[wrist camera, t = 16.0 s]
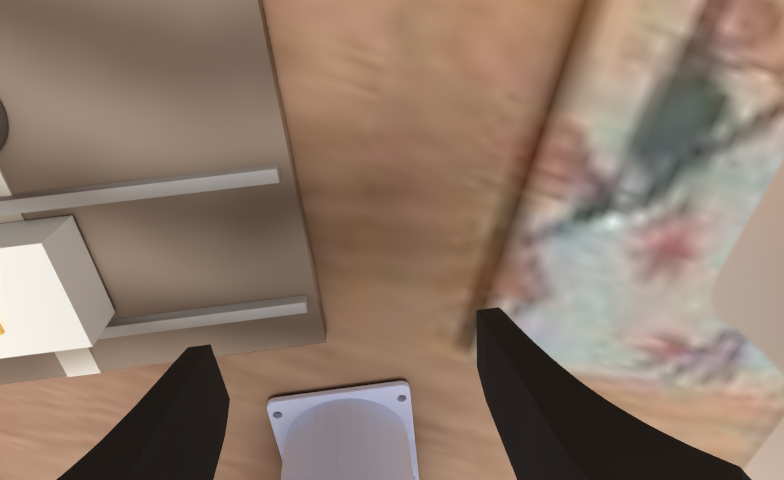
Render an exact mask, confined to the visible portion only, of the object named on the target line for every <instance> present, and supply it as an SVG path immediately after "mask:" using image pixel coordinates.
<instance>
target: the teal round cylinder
mask: <svg viewBox="0 0 784 480" xmlns="http://www.w3.org/2000/svg"><path fill="white" fill-rule="evenodd" d="M7 134H8V123H7V118H6V114H5V111H4V109H3V106H2V104H1V102H0V150H1V149H2V148H3V146H4V144H5V142H6V139H7Z"/></svg>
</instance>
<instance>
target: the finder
mask: <svg viewBox="0 0 784 480" xmlns="http://www.w3.org/2000/svg"><path fill="white" fill-rule="evenodd" d="M114 314H115V311H114V308H113V306H112V304H111V302H110V299H109V297H108V295H107V293H106V291H105V288H104V286H103V284H102V282H101V279H100V277H99V275H98V273H97V270H96V268H95V266H94V264H93V261H92V259H91V257H90V255H89V252H88V250H87V248H86V246H85V243H84V241H83V239H82V237H81V234H80V232H79V230H78V228H77V226H76V223H75V221H74V219H73V217H72V215H70V216H62V217H53V218H45V219H36V220H28V221H19V222H11V223H3V224H0V359H1V358H9V357H17V356H25V355H32V354H40V353H48V352H56V351H64V350H72V349H79V348H87V347H93V345H94V344H95V342H96V341H97V339H98V338H99V336H100V335H101V333H102V332H103V330H104V329H105V327H106V326H107V324H108V323H109V321H110V320H111V318H112V317H113V315H114Z"/></svg>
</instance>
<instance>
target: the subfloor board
mask: <svg viewBox="0 0 784 480" xmlns="http://www.w3.org/2000/svg"><path fill="white" fill-rule="evenodd" d="M0 102H1V104H2V106H3V109H4V111H5V114H6V118H7V123H8V134H7V139H6V142H5V144H4V146H3V148H2V149H1V150H0V224H3V223H11V222H19V221H28V220H36V219H45V218H53V217H62V216H70V215H72V217H73V219H74V221H75V223H76V226H77V228H78V230H79V232H80V234H81V237H82V239H83V241H84V243H85V246H86V248H87V250H88V252H89V255H90V257H91V259H92V261H93V264H94V266H95V268H96V270H97V273H98V275H99V277H100V279H101V282H102V284H103V286H104V288H105V291H106V293H107V295H108V297H109V299H110V302H111V304H112V306H113V308H114V311H115V314H114V315H113V317H112V318H111V320H110V321H109V323H108V324H107V326H106V327H105V329H104V330H103V332H102V333H101V335H100V336H99V338H98V339H97V341H96V342H95V344H94V345H93V347H87V348H79V349H72V350H64V351H56V352H48V353H40V354H32V355H25V356H17V357H9V358H1V359H0V385H1V384H9V383H16V382H24V381H32V380H40V379H47V378H55V377H63V376H68V377H73V376H81V375H88V374H96V373H101V372H102V371H109V370H117V369H125V368H132V367H140V366H148V365H155V364H163V363H171V362H175V361H176V360H177V359H178V357H179V356H180V355H181V354H182V353H183V352H184V351H185V350H186V349H187V348H188V347H194V346H202V345H209V344H211V347H212V350H213V353H214V356H215V357H217V356H225V355H233V354H240V353H248V352H256V351H264V350H271V349H279V348H287V347H295V346H302V345H310V344H318V343H325V342H326V331H327V330H326V324H325V319H324V314H323V309H322V304H321V299H320V294H319V289H318V284H317V279H316V273H315V268H314V263H313V258H312V253H311V248H310V243H309V238H308V233H307V227H306V222H305V217H304V212H303V207H302V202H301V197H300V192H299V187H298V182H297V176H296V171H295V166H294V161H293V156H292V151H291V146H290V141H289V136H288V130H287V125H286V120H285V115H284V110H283V105H282V100H281V95H280V90H279V84H278V79H277V74H276V69H275V64H274V59H273V54H272V49H271V44H270V39H269V33H268V28H267V23H266V18H265V13H264V8H263V3H262V0H0Z"/></svg>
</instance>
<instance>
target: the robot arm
mask: <svg viewBox="0 0 784 480" xmlns="http://www.w3.org/2000/svg"><path fill="white" fill-rule="evenodd" d="M477 368H478V372H479V376H480V380H481V384H482V388H483V391H484V395H485V398H486V402H487V404H488V407H489V409H490V412H491V415H492V417H493V420H494V422H495V425H496V427H497V430H498V432H499V435H500V437H501V440H502V442H503V445H504V447H505V450H506V452H507V455H508V457H509V460H510V462H511V465H512V467H513V470H514V472H515V475H516V478H517V480H751V479H750V478H749V477H748V476H747V474H746V473H745V472H744V471H743V470H742V469H741V468H740V467H739V466H737V465H734V464H732V463H729V462H727V461H725V460H722V459H720V458H718V457H715V456H713V455H710V454H708V453H706V452H703V451H701V450H699V449H696V448H694V447H692V446H689V445H687V444H685V443H683V442H681V441H679V440H677V439H675V438H673V437H671V436H669V435H667V434H665V433H663V432H661V431H659V430H657V429H655V428H653V427H651V426H650V425H648V424H646V423H644V422H642V421H641V420H639V419H637V418H635V417H634V416H632V415H630V414H629V413H627V412H625V411H623V410H622V409H620V408H618V407H617V406H615V405H614V404H612V403H610V402H609V401H607V400H606V399H604V398H603V397H601V396H600V395H598V394H597V393H596V392H594V391H593V390H591V389H590V388H588V387H587V386H586V385H584V384H583V383H582V382H580V381H579V380H578V379H576V378H575V377H574V376H573V375H571V374H570V373H569V372H568V371H566V370H565V369H564V368H563V367H561V366H560V365H559V364H558V363H557V362H556V361H554V360H553V359H552V358H551V357H550V356H549V355H548V354H546V353H545V352H544V351H543V350H542V349H541V348H540V347H539V346H538V345H536V344H535V343H534V342H533V341H532V340H531V339H530V338H529V337H528V336H527V335H526V334H525V333H524V332H523V331H522V330H521V329H520V328H519V327H518V326H517V325H516V324H515V323H514V322H513V321H512V320H511V319H510V318H509V317H508V316H507V315H506V314H505V313H504V312H503V310H501V309H500V308H491V309H483V310H477ZM400 395H404V396H402V397H400ZM229 401H230V399H229V396H228V393H227V390H226V387H225V384H224V381H223V378H222V376H221V373H220V370H219V367H218V364H217V361H216V358H215V356H214V353H213V350H212V347H211V344H209V345H202V346H194V347H188V348H187V349H186V350H185V351H184V352H183V353H182V354H181V355H180V356H179V357H178V359H177V360H176V361H175V362H174V363H173V364H172V365H171V367H170V368H169V369H168V370H167V371H166V372H165V373H164V375H163V376H162V377H161V378H160V379H159V380H158V381H157V383H156V384H155V385H154V386H153V387H152V388H151V389H150V390H149V391H148V393H147V394H146V395H145V396H144V397H143V398H142V399H141V400H140V401H139V402H138V404H137V405H136V406H135V407H134V408H133V409H132V410H131V411H130V412H129V413H128V414H127V415H126V416H125V417H124V418H123V419H122V420H121V421H120V422H119V423H118V424H117V425H116V426H115V427H114V428H113V429H112V430H111V431H110V432H109V433H108V434H107V435H106V436H105V437H104V438H103V439H102V440H101V441H100V442H99V443H98V444H97V445H96V446H95V447H94V448H93V449H92V450H90V451H89V452H88V453H87V454H86V455H85V456H84V457H83V458H81V459H80V460H79V461H78V462H77V463H76V464H75V465H73V466H72V467H71V468H70V469H69V470H68V471H67V472H65V473H64V474H63V475H62V476H61V477H59V478H58V479H57V480H213V478H214V474H215V471H216V467H217V464H218V460H219V456H220V452H221V449H222V445H223V441H224V437H225V431H226V425H227V418H228V410H229ZM267 412H268V415H269V418H270V422H271V425H272V428H273V432H274V435H275V439H276V442H277V445H278V449H279V452H280V455H281V459H282V462H283V463H282V471H281V479H280V480H419V475H418V465H417V455H416V445H415V435H414V425H413V415H412V405H411V395H410V387H409V384H408V383H407V382H405V381H395V382H388V383H380V384H373V385H365V386H357V387H350V388H342V389H335V390H327V391H320V392H312V393H305V394H297V395H290V396H282V397H275V398H271V399H270V400H269V401H268V402H267ZM276 412H281V413H276Z"/></svg>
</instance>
